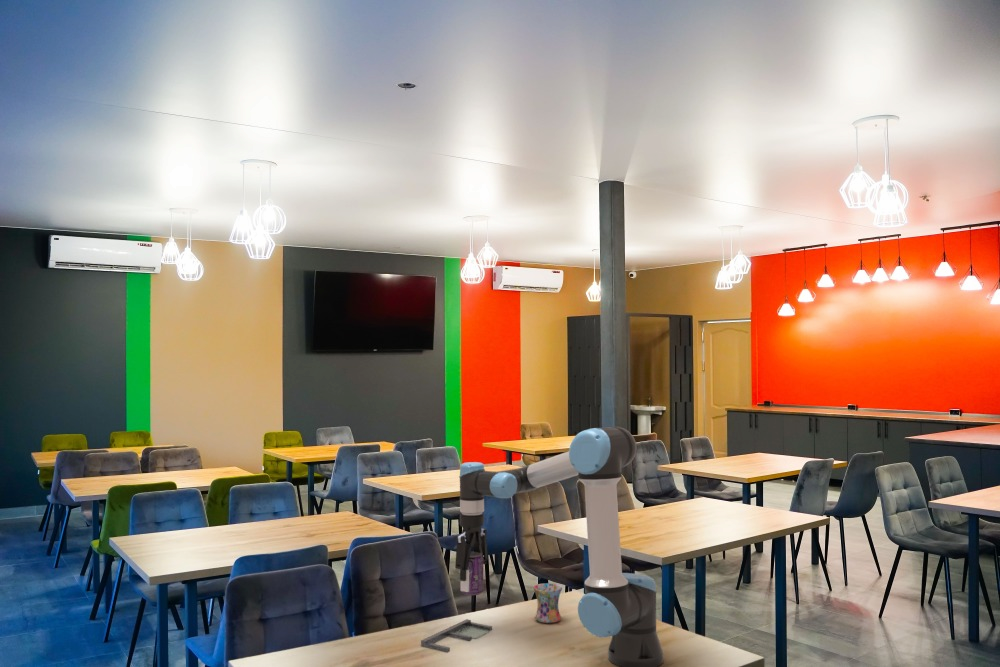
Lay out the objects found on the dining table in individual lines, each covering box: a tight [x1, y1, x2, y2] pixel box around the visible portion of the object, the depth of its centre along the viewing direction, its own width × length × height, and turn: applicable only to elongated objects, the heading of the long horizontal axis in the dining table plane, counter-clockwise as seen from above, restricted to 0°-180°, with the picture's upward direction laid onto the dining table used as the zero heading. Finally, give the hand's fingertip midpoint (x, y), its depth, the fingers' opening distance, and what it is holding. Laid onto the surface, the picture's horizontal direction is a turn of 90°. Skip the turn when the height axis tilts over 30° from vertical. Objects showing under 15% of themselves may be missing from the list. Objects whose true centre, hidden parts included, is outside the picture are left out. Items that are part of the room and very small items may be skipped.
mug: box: [533, 582, 563, 624], centre depth 248 cm, size 12×9×11 cm
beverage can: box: [459, 551, 484, 596], centre depth 236 cm, size 7×7×12 cm
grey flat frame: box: [420, 619, 493, 653], centre depth 231 cm, size 10×23×2 cm, turn 147°
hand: (471, 588), depth 235 cm, fingers closed on beverage can, 7 cm apart
